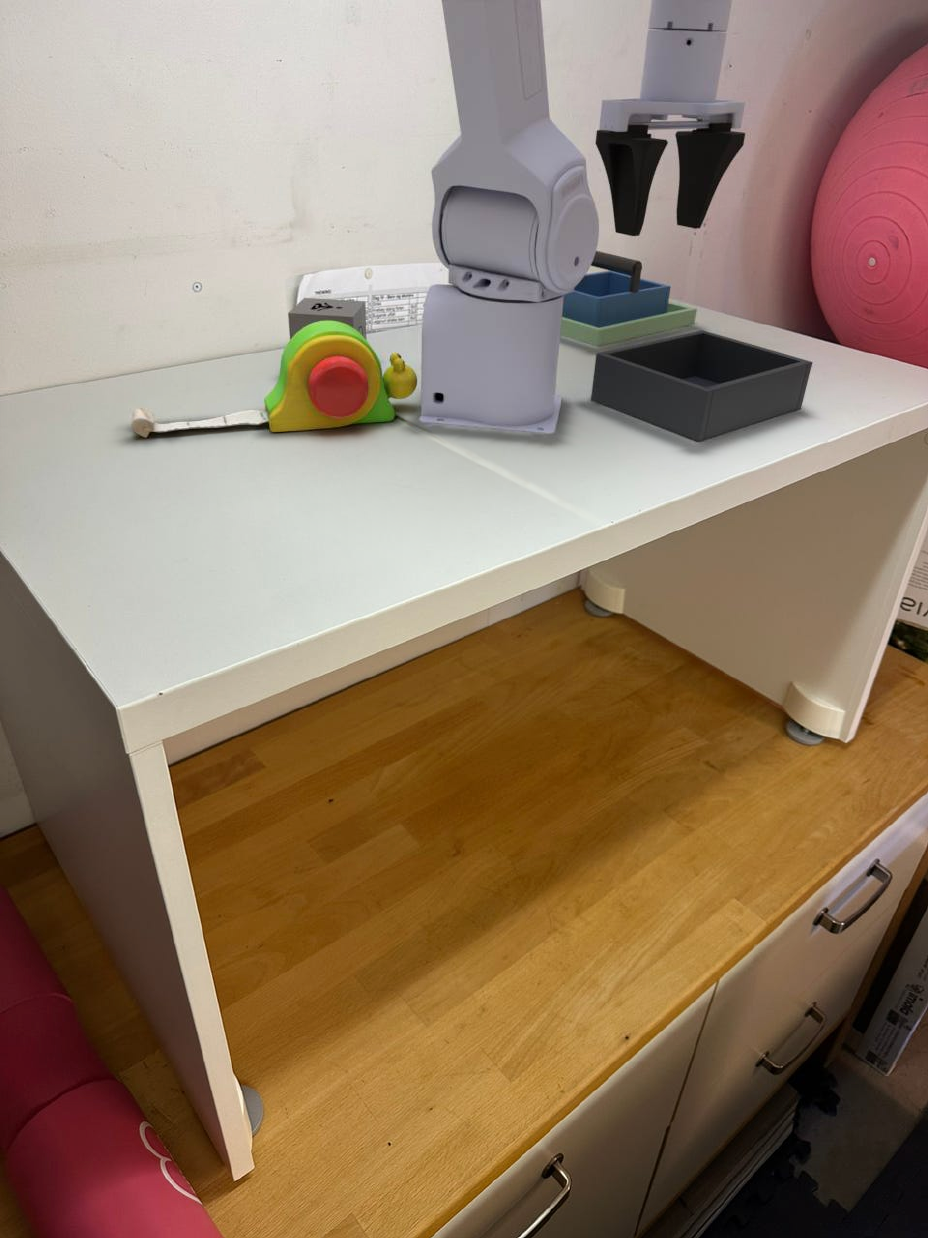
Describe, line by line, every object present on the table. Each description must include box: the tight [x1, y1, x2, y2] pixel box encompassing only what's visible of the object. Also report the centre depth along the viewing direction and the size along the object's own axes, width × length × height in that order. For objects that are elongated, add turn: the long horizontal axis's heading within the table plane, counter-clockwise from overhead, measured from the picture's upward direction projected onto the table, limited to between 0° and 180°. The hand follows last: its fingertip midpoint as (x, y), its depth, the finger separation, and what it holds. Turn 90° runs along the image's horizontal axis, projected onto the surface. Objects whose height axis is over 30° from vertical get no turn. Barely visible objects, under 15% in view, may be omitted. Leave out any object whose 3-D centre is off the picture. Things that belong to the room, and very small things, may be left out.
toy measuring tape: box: [131, 321, 418, 438], centre depth 60 cm, size 6×19×7 cm, turn 107°
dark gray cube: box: [287, 297, 367, 340], centre depth 71 cm, size 5×5×5 cm
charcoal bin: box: [590, 329, 814, 443], centre depth 66 cm, size 12×10×4 cm
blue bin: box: [562, 250, 672, 328], centre depth 85 cm, size 10×8×6 cm
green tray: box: [560, 301, 698, 347], centre depth 87 cm, size 14×12×2 cm
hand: (658, 230), depth 73 cm, fingers open, 7 cm apart
